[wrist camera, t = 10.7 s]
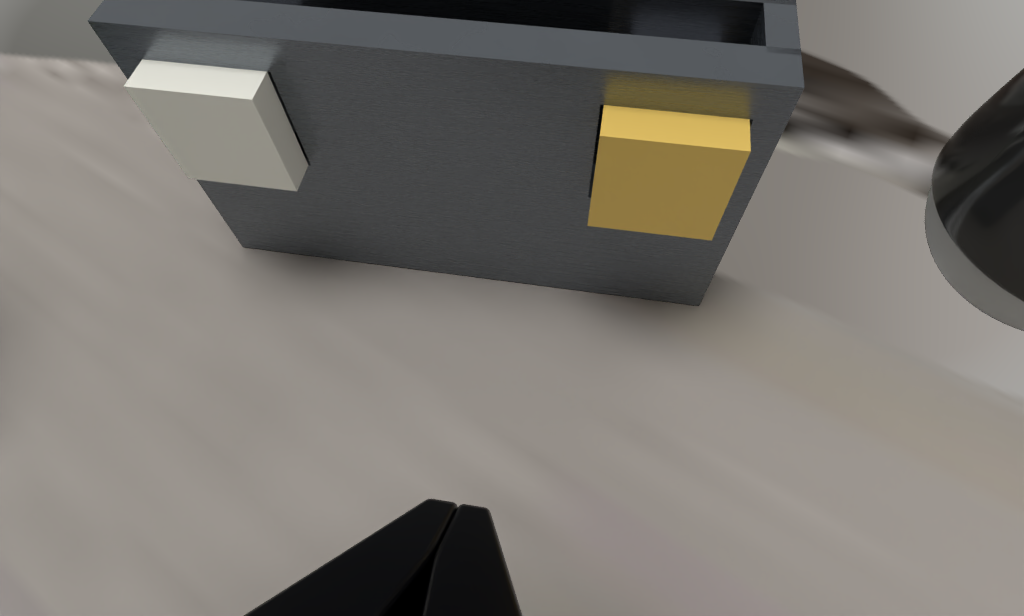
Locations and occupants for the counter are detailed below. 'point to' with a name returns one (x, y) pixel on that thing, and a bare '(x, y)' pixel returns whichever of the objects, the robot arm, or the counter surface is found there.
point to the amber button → (666, 171)
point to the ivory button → (220, 123)
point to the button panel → (479, 123)
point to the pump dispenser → (983, 207)
